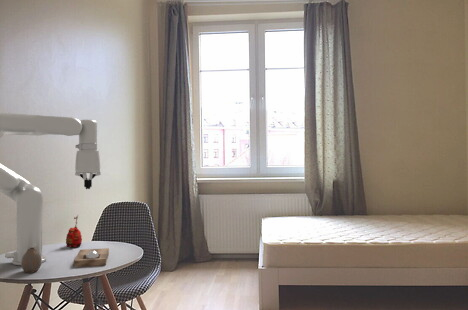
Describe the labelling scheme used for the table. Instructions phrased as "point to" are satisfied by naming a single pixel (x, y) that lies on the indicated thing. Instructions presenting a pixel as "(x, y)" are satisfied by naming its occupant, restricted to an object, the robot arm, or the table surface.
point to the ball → (92, 255)
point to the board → (82, 260)
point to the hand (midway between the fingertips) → (88, 188)
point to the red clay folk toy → (74, 237)
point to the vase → (31, 261)
